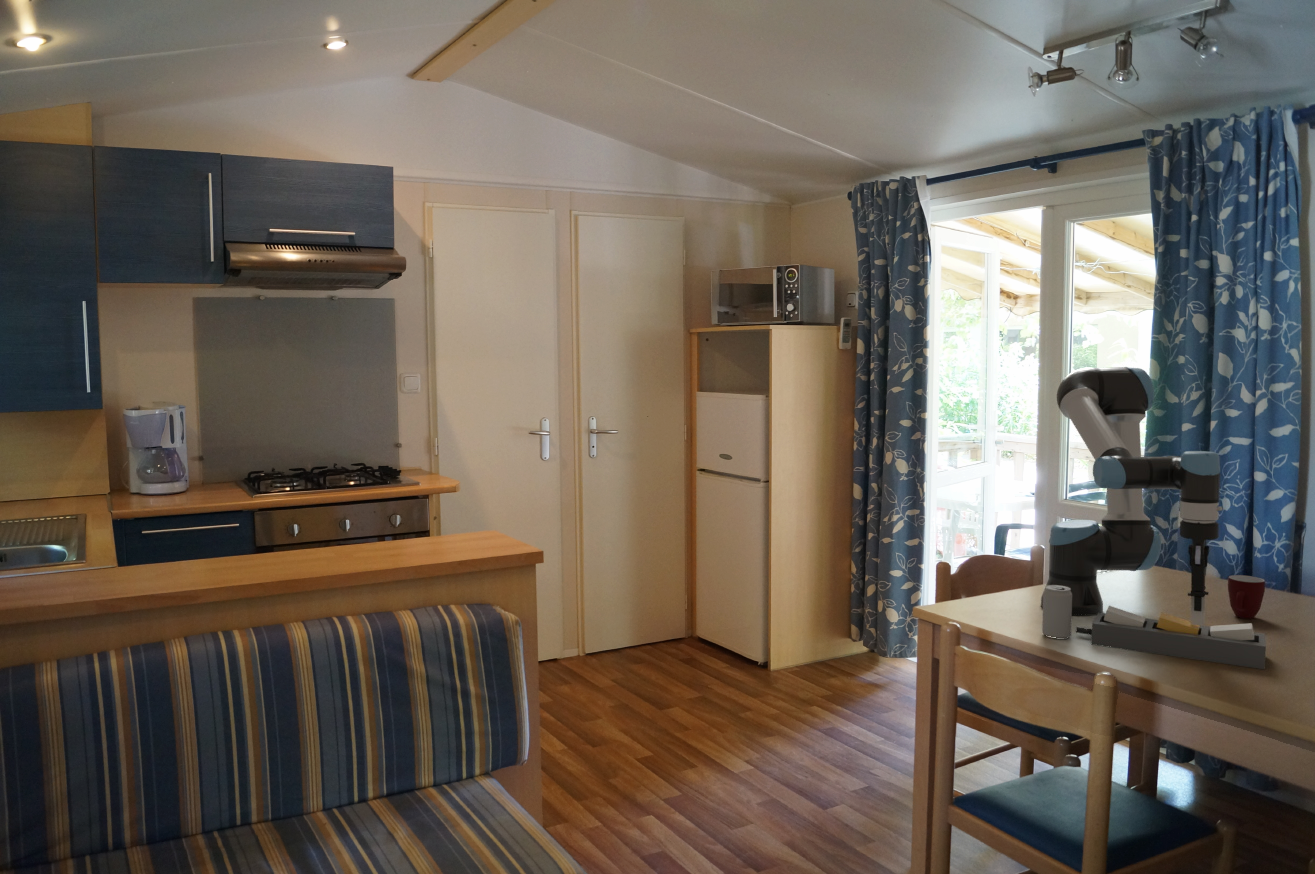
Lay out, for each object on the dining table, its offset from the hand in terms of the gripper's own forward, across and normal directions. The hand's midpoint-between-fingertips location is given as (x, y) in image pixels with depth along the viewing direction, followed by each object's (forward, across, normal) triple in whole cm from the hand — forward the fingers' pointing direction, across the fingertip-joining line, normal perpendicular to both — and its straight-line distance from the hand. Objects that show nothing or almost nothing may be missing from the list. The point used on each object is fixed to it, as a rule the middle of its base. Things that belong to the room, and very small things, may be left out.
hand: (1197, 624), depth 211 cm
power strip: (+7, 0, +6) cm, 9 cm away
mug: (+7, +39, -9) cm, 41 cm away
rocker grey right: (+2, 0, -7) cm, 7 cm away
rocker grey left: (+2, 0, +15) cm, 15 cm away
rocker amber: (+2, 0, +4) cm, 5 cm away
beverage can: (+6, -3, +29) cm, 30 cm away
